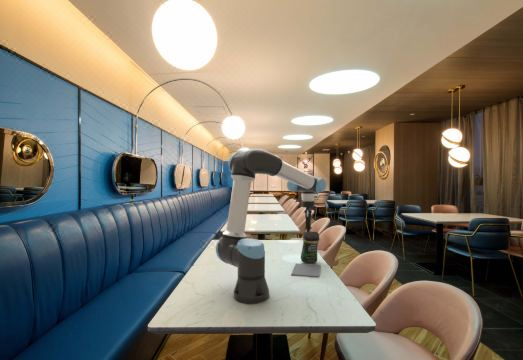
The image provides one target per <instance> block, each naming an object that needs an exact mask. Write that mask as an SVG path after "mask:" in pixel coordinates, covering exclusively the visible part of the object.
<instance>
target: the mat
mask: <svg viewBox="0 0 523 360" xmlns="http://www.w3.org/2000/svg"><path fill="white" fill-rule="evenodd" d="M320 273H321V264H312V263H295V264H294V267H293V270H291V274H290V275H291V276H297V277H309V278H320V277H319V276H320Z"/></svg>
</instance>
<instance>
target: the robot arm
mask: <svg viewBox="0 0 523 360" xmlns="http://www.w3.org/2000/svg"><path fill="white" fill-rule="evenodd" d="M228 168H229V172H230V177H231V179H232V180H233V181H232V190H231V197H230V203H229V209H228V210H229V211H228V217H227V222H226V223H227V225H226V229H225V231H223V232H222V235H221V237H220V238H219V240H218V241H217V242H216V246H215V253H216V257H218V259H219V260H220V261H222V262H224V263H225V264H227V265H228V264H229V265H230V266H234V267H235V268H237V280H236V283H235V286H234V289H233V298H234V299H235V300H236V301H237V302H240V303H243V304H257V303H262V302H265V301H267V300H268V298H269V297H270V288H269V286H268V282H267V279H266V274H265V273H266V271H265V270H266V268H265V267H266V265H265V264H266V251H265V245H264V243H263V242H262V241H261V240H259V239H255V238H249V237H248V235H247V234H246V233H245V229H246V223H247V222H246V221H247V215H248V208H249V201H250V194H251V187H252V183H253V182H254V181H255V180H256V175H261V174H262V175H267V176H271V177H278V178H281V179H283V180H285V181H287V182H286V188H287V191H289V192H293V193H294V192H301V207H302V208H305V209H304V217H305V228H304V230H305V232H312V228H313V227H312V213H313V210H312V208H315V207H316V205H315V203H316V202H315V197H316V195H315V193H323V192H325V190H326V189H327V182H326V181H327V180H326V179H324V178H322V177H315V176H314V175H313V174H309V173H307V172H305V171H303V170H301V169H299V168H297V167H295V166H293V165H291V164H289V163H288V162H285V161H284V160H283V159H282V158H281V157H279V156H277V154H274V153H272V152H269V151H268V150H264V149H261V148H253V149H252V148H251V149H245V150H243V149H242V150H239V151H236V152H234V153H232V154H231V156H230V157H229V159H228Z"/></svg>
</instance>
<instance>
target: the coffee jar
mask: <svg viewBox="0 0 523 360" xmlns="http://www.w3.org/2000/svg"><path fill="white" fill-rule="evenodd" d="M319 242H320V234H319V232H318V231H311V232H306V231H304V232H303V234H302V248H301V252H300V260H301V262H302V263H303V264H317V262H318V245H319Z"/></svg>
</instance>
